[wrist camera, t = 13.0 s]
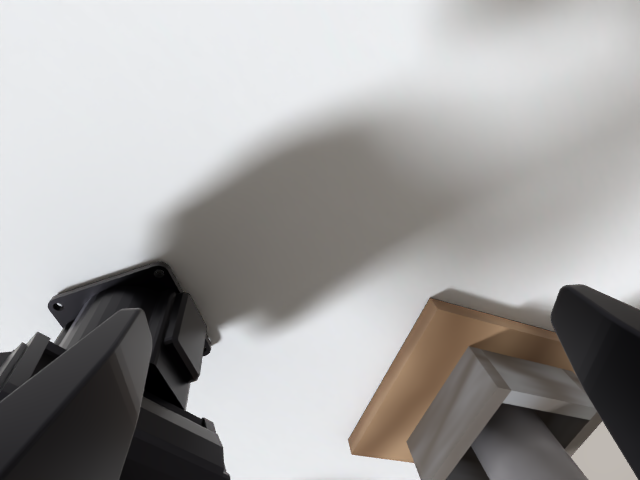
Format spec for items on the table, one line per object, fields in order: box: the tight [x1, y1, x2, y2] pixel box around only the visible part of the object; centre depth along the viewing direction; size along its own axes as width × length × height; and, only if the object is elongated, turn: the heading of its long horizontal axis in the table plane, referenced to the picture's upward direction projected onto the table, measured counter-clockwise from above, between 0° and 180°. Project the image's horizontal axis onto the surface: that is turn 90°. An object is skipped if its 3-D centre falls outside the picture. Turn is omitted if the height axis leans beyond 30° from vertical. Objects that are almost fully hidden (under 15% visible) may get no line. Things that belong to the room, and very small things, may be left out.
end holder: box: [348, 298, 602, 480], centre depth 28 cm, size 16×13×5 cm
